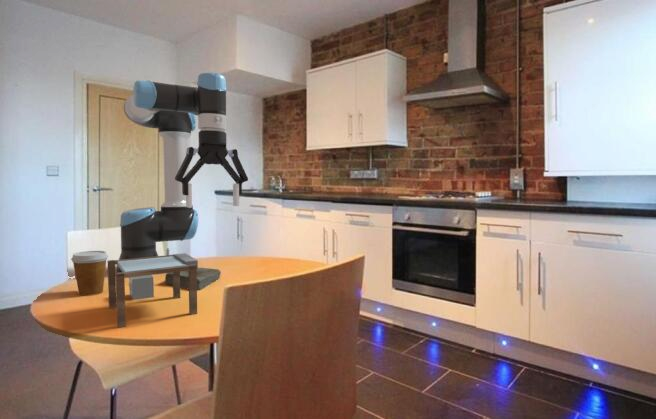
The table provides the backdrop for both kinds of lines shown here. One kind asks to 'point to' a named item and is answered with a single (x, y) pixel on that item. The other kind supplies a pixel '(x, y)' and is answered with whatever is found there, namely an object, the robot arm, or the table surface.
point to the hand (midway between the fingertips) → (213, 206)
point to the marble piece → (203, 277)
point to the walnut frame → (118, 283)
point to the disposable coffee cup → (90, 271)
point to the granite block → (141, 287)
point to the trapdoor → (157, 263)
